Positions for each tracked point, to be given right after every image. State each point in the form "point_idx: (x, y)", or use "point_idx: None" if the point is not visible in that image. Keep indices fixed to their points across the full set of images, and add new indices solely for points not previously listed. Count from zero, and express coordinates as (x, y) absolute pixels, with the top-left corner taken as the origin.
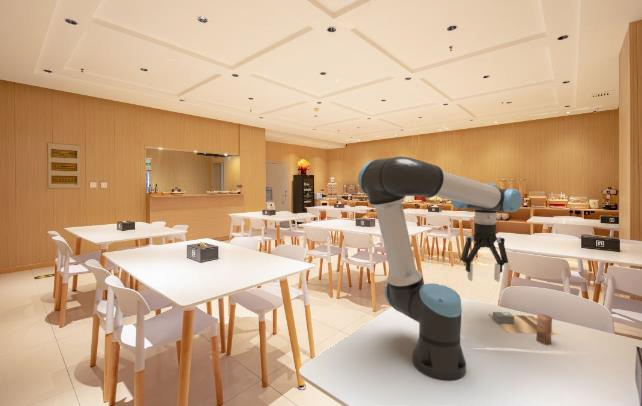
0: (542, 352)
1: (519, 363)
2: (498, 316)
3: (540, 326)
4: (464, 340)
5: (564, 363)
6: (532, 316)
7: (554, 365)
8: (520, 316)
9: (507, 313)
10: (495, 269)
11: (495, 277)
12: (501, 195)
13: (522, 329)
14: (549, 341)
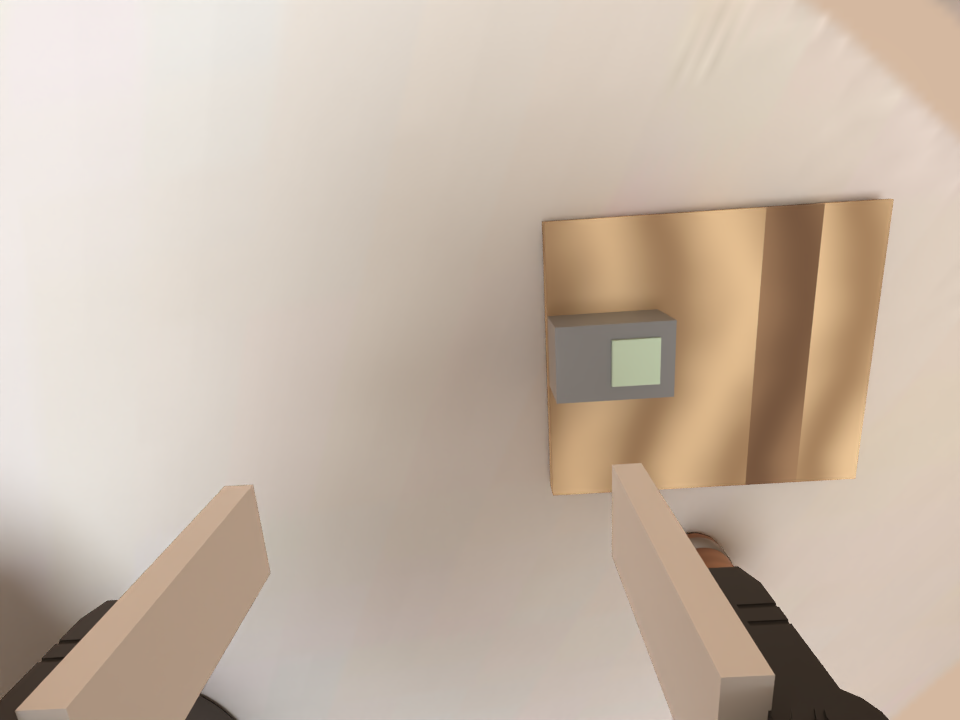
0: None
1: (489, 707)
2: (560, 403)
3: None
4: (301, 562)
5: None
6: (881, 212)
7: (630, 701)
8: (784, 229)
9: (651, 353)
10: (666, 603)
11: (622, 522)
12: None
13: (670, 444)
14: None
